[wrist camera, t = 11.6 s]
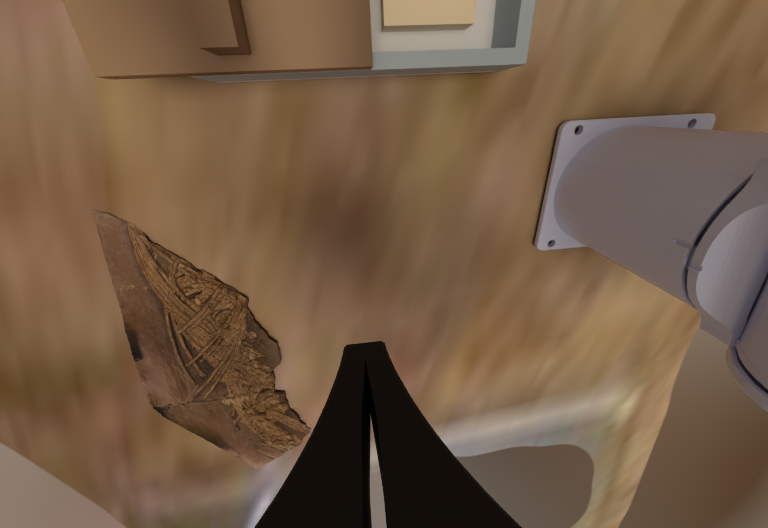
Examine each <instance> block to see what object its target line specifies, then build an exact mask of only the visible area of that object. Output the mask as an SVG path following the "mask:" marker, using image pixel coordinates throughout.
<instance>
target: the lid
mask: <svg viewBox="0 0 768 528" xmlns="http://www.w3.org/2000/svg"><path fill="white" fill-rule="evenodd" d="M62 1H63V3H64V5H65V8H66V10H67V12H68V15H69V17H70V20H71V22H72V24H73V27H74V29H75V31H76V34H77V36H78V39H79V41H80V43H81V46H82V48H83V50H84V53H85V55H86V58H87V60H88V62H89V65H90V67H91V69H92V72H93V74H94V76H95V77H100V78H107V79H137V78H163V77H189V76H215V75H241V74H267V73H293V72H319V71H345V70H371V69H372V67H373V57H372V37H371V17H370V0H62Z"/></svg>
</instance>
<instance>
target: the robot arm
mask: <svg viewBox="0 0 768 528" xmlns="http://www.w3.org/2000/svg"><path fill="white" fill-rule="evenodd" d="M715 120H716V117H715V115H714V114H713V113H698V114H680V115H661V116H643V117H624V118H606V119H587V120H569V121H565V122H564V123H562V124H561V126H560V127H559V130H558V134H557V139H556V143H555V148H554V153H553V158H552V162H551V167H550V172H549V177H548V181H547V186H546V191H545V196H544V200H543V205H542V210H541V214H540V219H539V224H538V229H537V233H536V238H535V247H536V248H537V249H539V250H542V251H543V250H554V249H566V248H577V247H589V248H591V249H592V250H594V251H596V252H598V253H599V254H601V255H603V256H605V257H606V258H608V259H610V260H612V261H613V262H615V263H617V264H618V265H620V266H622V267H624V268H625V269H627V270H629V271H631V272H632V273H634V274H636V275H638V276H639V277H641V278H643V279H645V280H646V281H648V282H650V283H652V284H653V285H655V286H657V287H659V288H660V289H662V290H664V291H666V292H667V293H669V294H671V295H673V296H674V297H676V298H678V299H680V300H681V301H683V302H685V303H687V304H688V305H690V306H692V307H694V308H696V309H697V310H698V311H699V312H700V314H701V322H700V328H701V329H703V330H705V331H706V332H708V333H709V334H711V335H712V336H714V337H716V338H717V339H719V340H721V341H722V342H724V343H725V344H727V345H729V346H728V349H727V351H726V362H727V365H728V368H729V371H730V373H731V374H732V376H733V378H734V379H735V381H736V382H737V383H738V385H739V386H740V387H741V388H742V389H743V391H744V392H745V393H746V394H747V395H748V396H749V397H750V398H752V399H753V400H754V401H755V402H756V403H758V405H760V407H762V408H763V409H765V410H766V411H767V412H768V133H762V132H743V131H725V130H712V128H713V126H714V123H715ZM689 121H690V123H689ZM688 123H689V125H688ZM577 126H578V127H579V129H578V132H577V133H576V134H575V133H574V130H575V128H576V127H577ZM550 240H552V241H551V243H550V244H548V242H549V241H550ZM370 413H371V419H372V425H373V431H374V437H375V443H376V449H377V455H378V461H379V467H380V473H381V479H382V486H383V493H384V502H385V512H386V523H387V528H522V527H521V526H519V524H518V523H516V522H515V520H514V519H512V518H511V517H510V516H509V515H508V514H507V513H506V512H505V511H504V510H503V509H502V508H501V507H500V506H499V504H498V503H497V502H496V501H494V499H493V498H492V497H491V496H490V495H489V494H488V493H487V492H486V491H485V490H484V489H483V488H482V487H481V486H480V485H479V483H478V482H477V481H476V480H475V479H474V478H473V477H472V476H471V474H470V473H469V472H468V471H467V470H466V469H465V468H464V467H463V465H462V464H461V463H460V462H459V461H458V460H457V459H456V458H455V456H454V455H453V454H452V453H451V451H450V450H449V449H448V448H447V446H446V445H445V444H444V443H443V442H442V440H441V439H440V438H439V436H438V435H437V434H436V432H435V431H434V430H433V428H432V427H431V426H430V424H429V423H428V422H427V420H426V419H425V417H424V416H423V414H422V413H421V411H420V410H419V408H418V407H417V405H416V404H415V402H414V401H413V399H412V398H411V396H410V394H409V393H408V391H407V389H406V388H405V386H404V384H403V382H402V381H401V379H400V377H399V375H398V373H397V372H396V370H395V368H394V366H393V363H392V361H391V359H390V357H389V354H388V352H387V349H386V346H385V343H384V342H382V341H378V342H369V343H359V344H350V345H346V346H345V347H344V351H343V356H342V360H341V364H340V367H339V370H338V373H337V376H336V379H335V381H334V384H333V387H332V389H331V392H330V394H329V397H328V399H327V402H326V404H325V406H324V408H323V411H322V413H321V415H320V417H319V419H318V422H317V424H316V426H315V428H314V430H313V432H312V434H311V436H310V438H309V440H308V442H307V444H306V445H305V447H304V449H303V451H302V453H301V455H300V456H299V458H298V460H297V462H296V463H295V465H294V467H293V468H292V470H291V472H290V474H289V475H288V477H287V479H286V480H285V482H284V484H283V485H282V487H281V488H280V490H279V492H278V493H277V495H276V496H275V498H274V500H273V501H272V503H271V504H270V506H269V507H268V508H267V510H266V511H265V513H264V514H263V516H262V517H261V519H260V520H259V522H258V523H257V525H256V526H255V528H372V526H371V509H370Z"/></svg>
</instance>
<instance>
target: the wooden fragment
mask: <svg viewBox="0 0 768 528" xmlns="http://www.w3.org/2000/svg"><path fill="white" fill-rule="evenodd" d="M93 215H94V219H95V223H96V226H97V229H98V233H99V236H100V238H101V243H102V247H103V252H104V255H105V259H106V262H107V265H108V267H109V272H110V275H111V279H112V283H113V285H114V288H115V291H116V295H117V299H118V301H119V305H120V309H121V313H122V315H123V320H124V326H125V332H126V334H127V337H128V341H129V343H130V347H131V351H132V355H133V358H134V361H135V364H136V367H137V369H138V372H139V374H140V377H141V382H142V383H143V384H144V386H145V387H146V389H145V390H146V391H147V392H145V393H146V395H147V398H148V401H149V403H150V404H151V405H152V406H153V408H154V409H155V410H156V411H157V412H159V413H160V414H162V416H163V417H165V418H167V419H168V420H170V421H172V422H174V423H176V424H178V425H180V426H181V427H183V428H185V429H187V430H189V431H191V432H192V433H195V434H196V435H198V436H200V437H202V438H204V439H205V440H207V441H209V442H211V443H213V444H215V445H216V446H218V447H219V448H222V449H223V450H225V451H228V452H229V453H231V454H233V455H236V457H239V458H241V459H242V460H243V461H244V462H246V463H248V464H249V465H250V466H252V467H254V468H256V469H257V468H259V467H261V466H263V465H264V464H266V463H269V462H271V461H273V460H274V459H276V458H277V457H279V456H281V455H282V454H284V453H285V452H286V451H287V450H288V449H292V448H293V447H296V446H299V445H300V444H301V443H302V438H303V437H305V436H306V435H307V434H308V433H309V432H310V431H311V429H310V428H308V427H306V425H305V424H304V423H302V422H300V420H299V417H298V416H297V414H296V415H295V413H294V412H293V411H292V410H291V409H289V407H288V401H287V400H286V395H285V392H283V391H278V390H275V384H274V382H275V379H274V372H272V370H273V369H274V368H276V367H277V366H278V365H279V364H280V362H281V360H280V352H279V350H278V346H277V343H276V342H273V341H272V340H271V339H269V337H268V336H267V334H266V333H265V331H264V330H262V329H261V328H260V327H259V326H258V324H257V323H256V322H255V321H254V318H253V316H252V314H251V313H250V312H249V310H248V308H247V305H248V298H247V297H246V296H244V295H243V294H242V293H240V292H239V291H238V290H237V289H235V288H234V287H232V286H230V285H227V284H225V283H223V282H222V281H221V280H219V279H218V278H217V277H216V276H214V275H212V274H210V273H208V272H207V271H205V270H200V269H197V268H196V267H195V266H194V265H193V264H191V263H190V262H188V261H186V260H184V259H182V258H179V257H178V256H176V255H174V254H172V253H171V252H169V251H167V250H165V249H163V248H162V247H161V246H160V245H158V244H155V243H152V242H150V241H148V240H147V239H146V237H145V233H144V232H142V231H141V230H140V229H138V228H137V227H136V226H135V225H134V224H132V223H130V222H127V221H125V220H123V219H121V218H119V217H117V216H115V215H113V214H111V213H108V212H102V211H98V210H94V209H93Z"/></svg>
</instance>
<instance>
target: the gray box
mask: <svg viewBox="0 0 768 528" xmlns="http://www.w3.org/2000/svg"><path fill="white" fill-rule="evenodd" d="M535 2H536V0H370V17H371V37H372V57H373V67H372V69H371V70H345V71H319V72H293V73H267V74H241V75H215V76H190V77H193V78H198V79H203V80H208V81H212V82H217V83H230V82H254V81H279V80H304V79H329V78H354V77H379V76H403V75H428V74H453V73H478V72H497V71H501V70H505V69H509V68H512V67H516V66H520V65H524V64H526V62H527V55H528V49H529V42H530V36H531V29H532V22H533V16H534V9H535Z"/></svg>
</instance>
